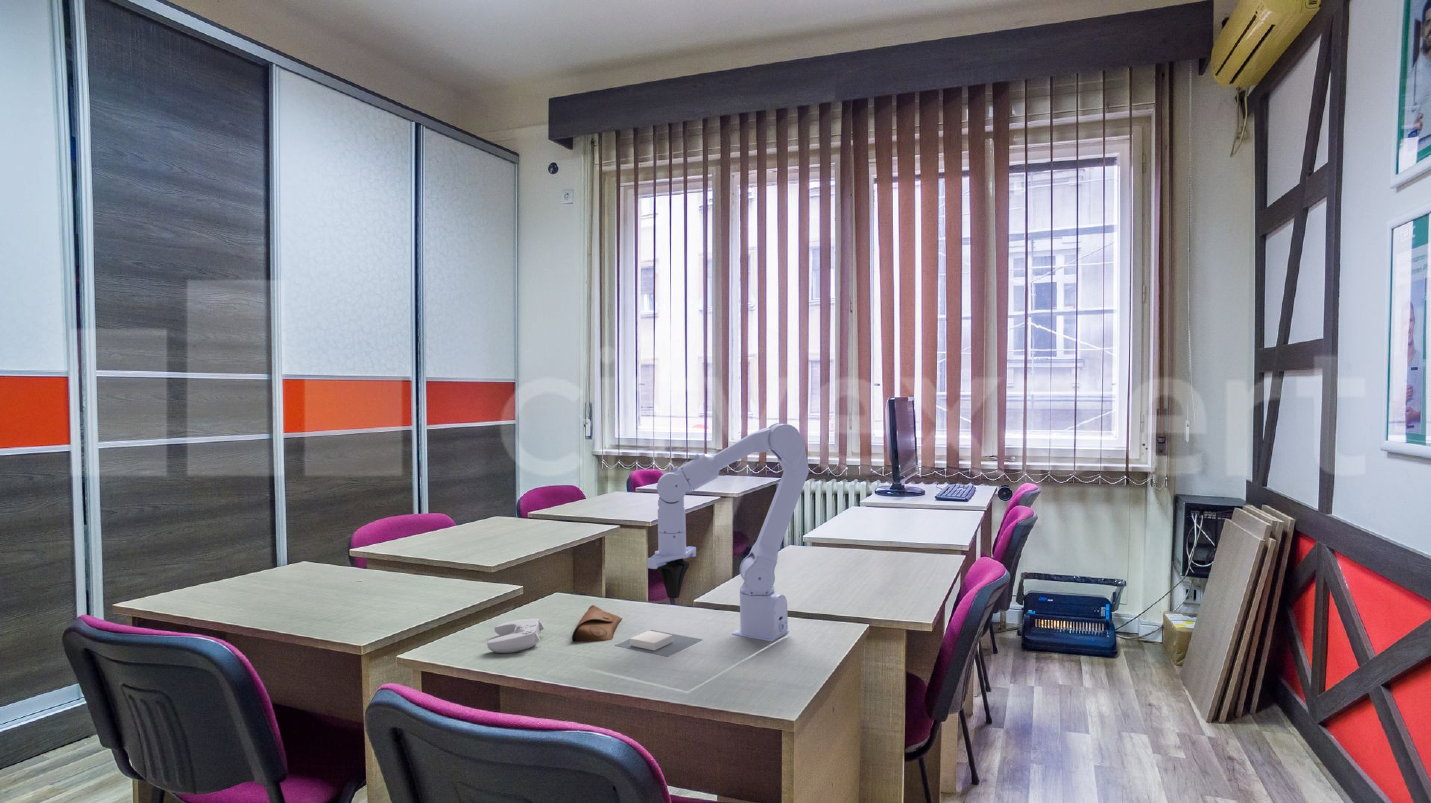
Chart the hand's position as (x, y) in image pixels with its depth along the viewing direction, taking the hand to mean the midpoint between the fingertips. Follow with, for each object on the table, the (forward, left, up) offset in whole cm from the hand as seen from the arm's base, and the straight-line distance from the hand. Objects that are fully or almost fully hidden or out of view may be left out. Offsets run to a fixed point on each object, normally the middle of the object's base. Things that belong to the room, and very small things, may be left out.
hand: (673, 597), depth 158 cm
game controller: (+25, +19, -9) cm, 33 cm away
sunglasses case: (+16, +5, -9) cm, 19 cm away
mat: (0, +6, -8) cm, 10 cm away
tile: (0, +4, -7) cm, 8 cm away
